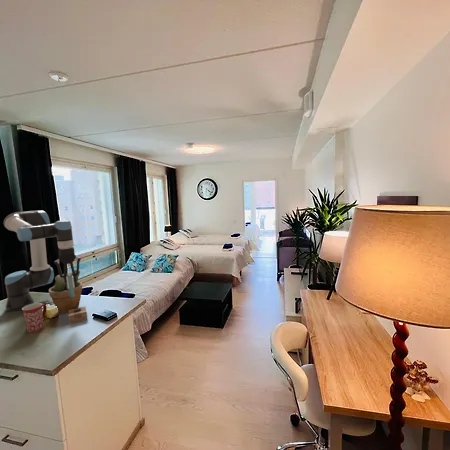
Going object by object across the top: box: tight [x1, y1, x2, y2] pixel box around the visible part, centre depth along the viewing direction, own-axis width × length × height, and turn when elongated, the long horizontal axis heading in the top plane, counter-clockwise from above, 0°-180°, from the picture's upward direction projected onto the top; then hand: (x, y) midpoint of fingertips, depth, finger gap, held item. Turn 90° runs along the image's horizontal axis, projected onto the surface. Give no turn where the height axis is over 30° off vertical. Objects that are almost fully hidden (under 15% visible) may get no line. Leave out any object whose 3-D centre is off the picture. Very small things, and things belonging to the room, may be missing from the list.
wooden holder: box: [68, 305, 88, 325], centre depth 153 cm, size 9×9×5 cm
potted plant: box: [48, 269, 83, 314], centre depth 165 cm, size 18×19×25 cm
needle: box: [66, 272, 75, 297], centre depth 148 cm, size 2×2×14 cm
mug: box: [21, 302, 47, 333], centre depth 144 cm, size 13×9×14 cm
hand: (71, 287), depth 148 cm, fingers closed on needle, 2 cm apart
